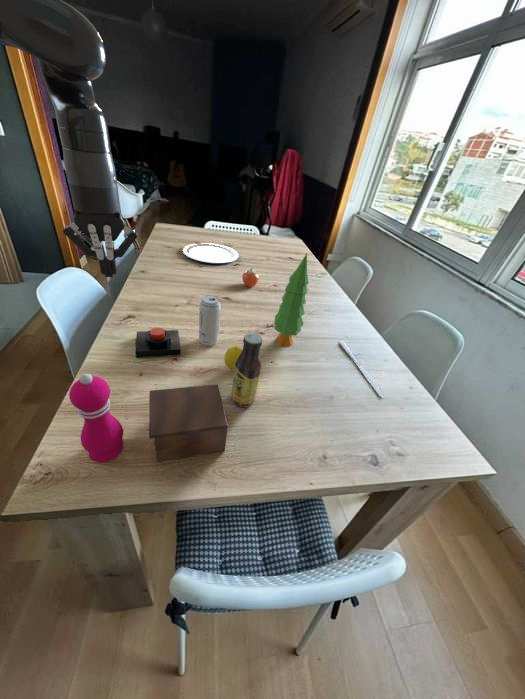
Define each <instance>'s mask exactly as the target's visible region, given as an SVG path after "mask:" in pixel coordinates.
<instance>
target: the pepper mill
mask: <svg viewBox="0 0 525 699" xmlns="http://www.w3.org/2000/svg"><path fill="white" fill-rule="evenodd" d="M68 397H69V401H70V403H71V405H72V406H73V407H74V408H76V410H77V413H78V415H79V416H80V417H81V418H83V420H84V423H83V426H82V429H81V432H80V443H81V444H80V445H81V446H82V449H84V450H85V451H87V453H88V457H89V459H91V460H92V461H94V462H96V463H107V462H109V461H112V460H115V459H116V458H117V457H118V456H119V455H120V454H121V453H122V452H123V449H124V440H123V437H124V428H123V425H122V423H121V422H120V421H119V419H117V417H115V416H114V415H113V414H111V412H110V411H109V410H110V408H111V400H110V397H111V387H110V385H109V384H108V382H107V381H106V380H105V379H104V378H102V377H99V376H94V375H92V374H90V373H84V374H81V375H80V376H79V379H78V380H76V381H75V382H74V383H73V384H72V385H71V387H70V389H69V394H68Z"/></svg>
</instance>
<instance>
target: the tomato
mask: <svg viewBox="0 0 525 699" xmlns="http://www.w3.org/2000/svg"><path fill="white" fill-rule="evenodd" d="M241 278H242V282H243V284H244V285H245V286H246V287H248V288H254V287H255V286H256V285H257V284H258V282H259V279H260V275H259V274H258V272H257V271H256V270H254V269H253V268H252V267H251V268H250V269H248V270H245V271H244V272H243V273H242V277H241Z"/></svg>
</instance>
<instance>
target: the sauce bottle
mask: <svg viewBox="0 0 525 699" xmlns="http://www.w3.org/2000/svg"><path fill="white" fill-rule="evenodd" d="M242 342H243V346H242V352H241V354H240V356H239V357H238V359H237V361H236V362H235V368H234V370H233V376H232V384H231V390H230V398H231V402H232V403H233V404H234V405H235V406H237V407H240V408H247V407H250V406H251V405H252V404H254V402H255V399H256V397H257V396H256V395H257V391H258V386H259V381H260V376H261V370H262V364H263V361H262V357H261V355H260V350H261V347H262V345H263V337H262V335H260V334H258V333H255V332H249V333H248V332H247V333H246V334H245V335H244V336H243V341H242Z"/></svg>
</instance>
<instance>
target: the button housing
mask: <svg viewBox="0 0 525 699" xmlns="http://www.w3.org/2000/svg"><path fill="white" fill-rule="evenodd" d="M150 330H151V329H150ZM150 330H145V331H136V338H135V349H134V350H135V351H134V354H135V358H136V359H141V358H142V359H143V358H156V357H157V358H158V357H170V356H171V357H173V356H181V343H180V333H179V329H170V330H167V329H164V330H165V337H164V338H163V339H161V340H154V339H152V338H151V337H150Z"/></svg>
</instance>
